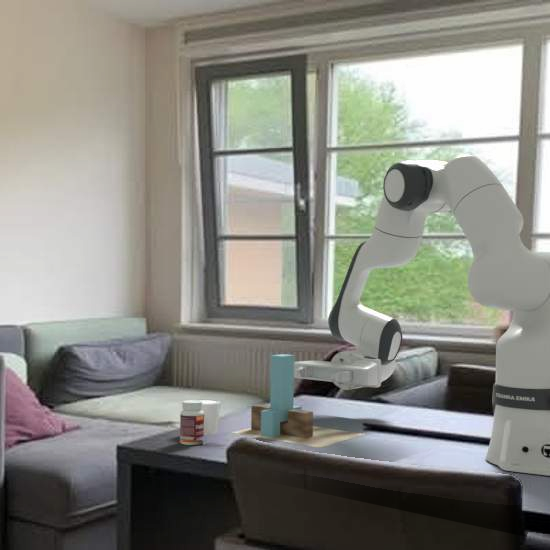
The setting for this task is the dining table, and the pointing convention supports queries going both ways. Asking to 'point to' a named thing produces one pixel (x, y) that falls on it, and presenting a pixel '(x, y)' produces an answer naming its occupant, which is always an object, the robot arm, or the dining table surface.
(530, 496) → the dining table surface
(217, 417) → the white cup
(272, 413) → the angled bracket
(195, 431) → the pill bottle
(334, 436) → the jig board
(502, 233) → the robot arm
